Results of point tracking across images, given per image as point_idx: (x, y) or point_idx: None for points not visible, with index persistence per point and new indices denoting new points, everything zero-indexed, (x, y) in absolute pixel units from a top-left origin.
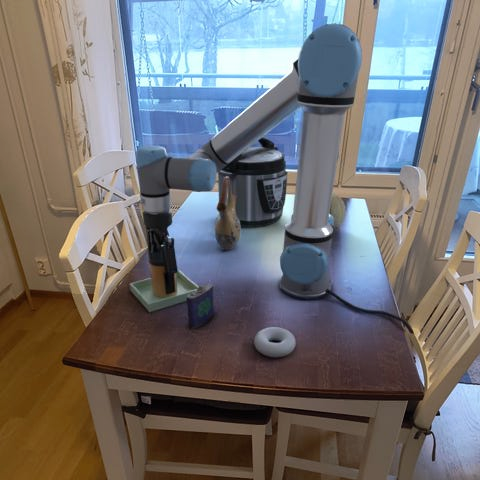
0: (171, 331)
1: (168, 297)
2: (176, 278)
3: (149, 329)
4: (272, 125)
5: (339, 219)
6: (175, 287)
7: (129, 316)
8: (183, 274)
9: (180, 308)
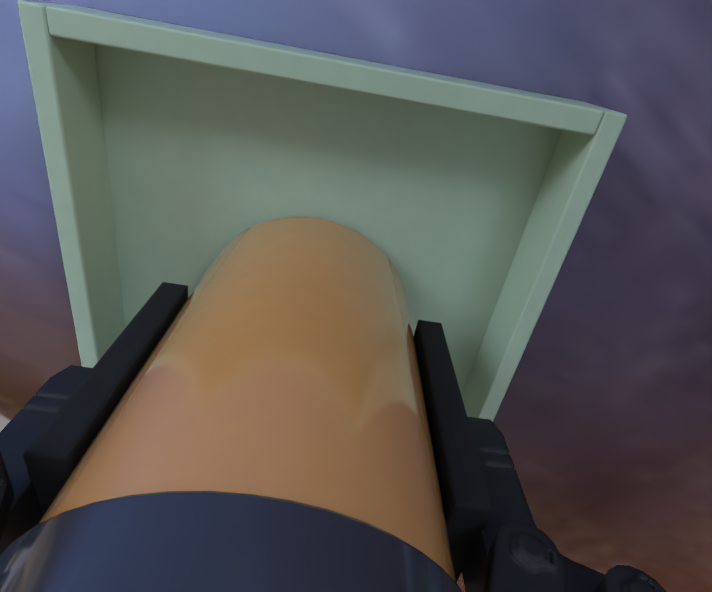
0: (684, 485)
1: (483, 415)
2: (378, 313)
3: (569, 531)
4: None
5: None
6: (404, 308)
7: None
8: (175, 42)
9: (564, 342)
